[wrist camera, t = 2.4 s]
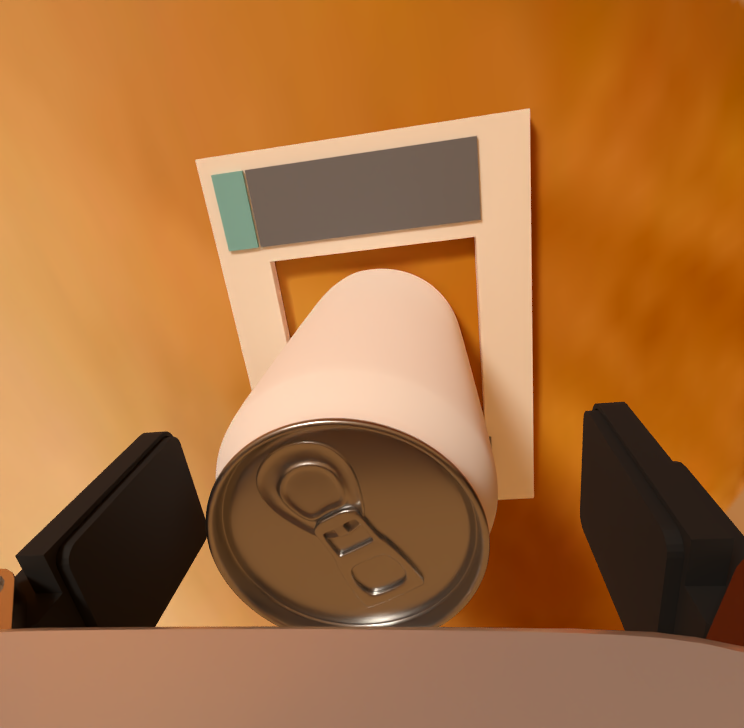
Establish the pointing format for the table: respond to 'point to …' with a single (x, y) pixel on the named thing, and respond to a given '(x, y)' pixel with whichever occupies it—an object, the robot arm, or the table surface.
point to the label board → (392, 241)
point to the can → (359, 467)
